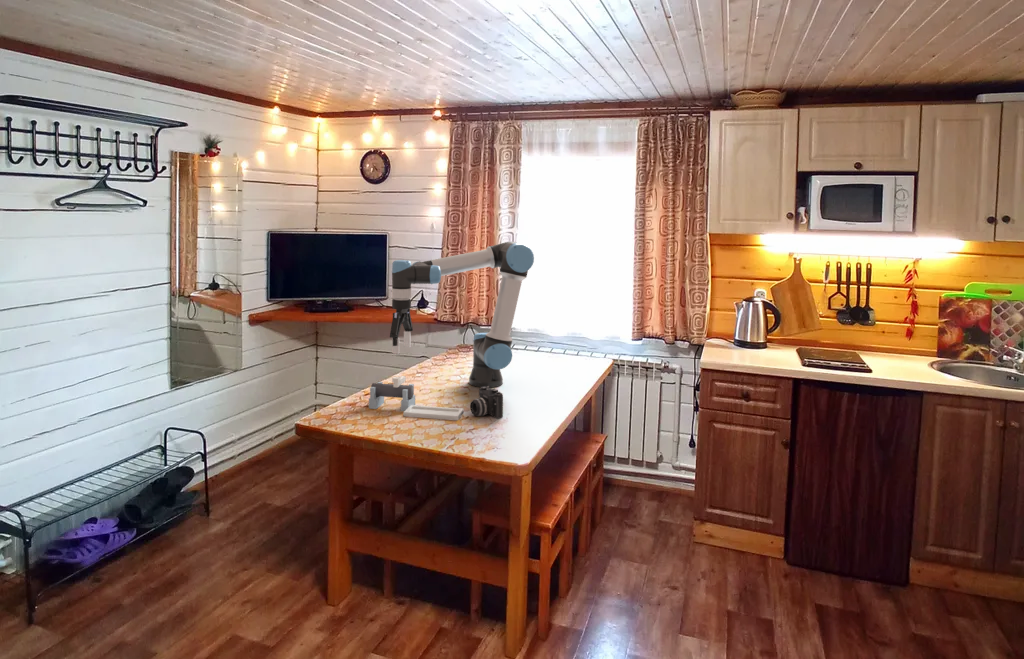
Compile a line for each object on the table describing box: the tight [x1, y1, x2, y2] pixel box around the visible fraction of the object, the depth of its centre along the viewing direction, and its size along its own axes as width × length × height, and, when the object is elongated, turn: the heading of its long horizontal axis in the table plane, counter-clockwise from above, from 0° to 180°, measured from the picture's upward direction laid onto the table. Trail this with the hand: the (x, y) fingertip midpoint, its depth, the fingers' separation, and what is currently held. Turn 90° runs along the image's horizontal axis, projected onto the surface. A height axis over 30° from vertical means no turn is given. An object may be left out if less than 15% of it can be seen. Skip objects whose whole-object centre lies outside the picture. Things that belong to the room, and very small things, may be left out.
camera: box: [469, 386, 504, 419], centre depth 267 cm, size 14×11×10 cm
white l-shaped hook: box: [391, 375, 406, 388], centre depth 272 cm, size 2×10×4 cm, turn 171°
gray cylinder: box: [370, 382, 415, 399], centre depth 273 cm, size 16×5×5 cm, turn 81°
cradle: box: [368, 381, 416, 412], centre depth 274 cm, size 16×10×8 cm, turn 81°
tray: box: [402, 404, 464, 421], centre depth 266 cm, size 21×10×2 cm, turn 81°
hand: (401, 350), depth 285 cm, fingers open, 13 cm apart
